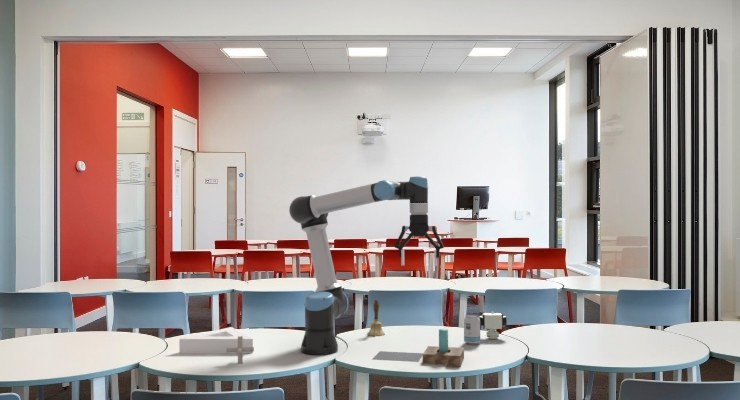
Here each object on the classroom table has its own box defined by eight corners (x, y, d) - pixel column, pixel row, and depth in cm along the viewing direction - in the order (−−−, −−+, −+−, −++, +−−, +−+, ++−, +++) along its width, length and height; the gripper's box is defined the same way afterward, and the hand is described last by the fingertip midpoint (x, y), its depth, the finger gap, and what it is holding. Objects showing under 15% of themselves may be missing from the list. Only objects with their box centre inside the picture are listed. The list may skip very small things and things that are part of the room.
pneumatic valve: (506, 339, 280) (506, 312, 280) (480, 339, 281) (479, 312, 281) (504, 337, 286) (504, 310, 286) (478, 336, 286) (478, 310, 287)
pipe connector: (228, 360, 245) (228, 334, 246) (255, 359, 246) (254, 333, 246) (224, 366, 235) (224, 339, 236) (252, 366, 236) (251, 339, 236)
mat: (371, 360, 243) (371, 359, 243) (379, 352, 257) (379, 351, 257) (418, 363, 239) (418, 361, 239) (423, 354, 252) (423, 353, 252)
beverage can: (483, 344, 271) (483, 316, 271) (469, 345, 268) (469, 317, 268) (474, 341, 277) (474, 313, 277) (461, 342, 274) (460, 315, 275)
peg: (438, 362, 240) (438, 330, 240) (439, 360, 244) (439, 328, 244) (447, 362, 239) (447, 330, 239) (448, 360, 243) (448, 329, 243)
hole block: (422, 364, 236) (422, 354, 236) (428, 356, 250) (428, 346, 250) (460, 366, 233) (460, 356, 233) (464, 358, 247) (463, 347, 247)
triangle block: (179, 354, 258) (179, 339, 258) (198, 341, 284) (198, 326, 284) (252, 354, 257) (252, 338, 257) (264, 341, 283) (264, 326, 283)
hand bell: (388, 333, 295) (388, 299, 295) (378, 336, 288) (378, 301, 288) (373, 331, 300) (373, 298, 300) (363, 334, 293) (363, 300, 293)
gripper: (450, 213, 262) (450, 265, 262) (391, 214, 268) (391, 264, 268) (448, 214, 255) (448, 266, 255) (387, 214, 261) (387, 265, 260)
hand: (419, 265), depth 261 cm, fingers open, 13 cm apart
